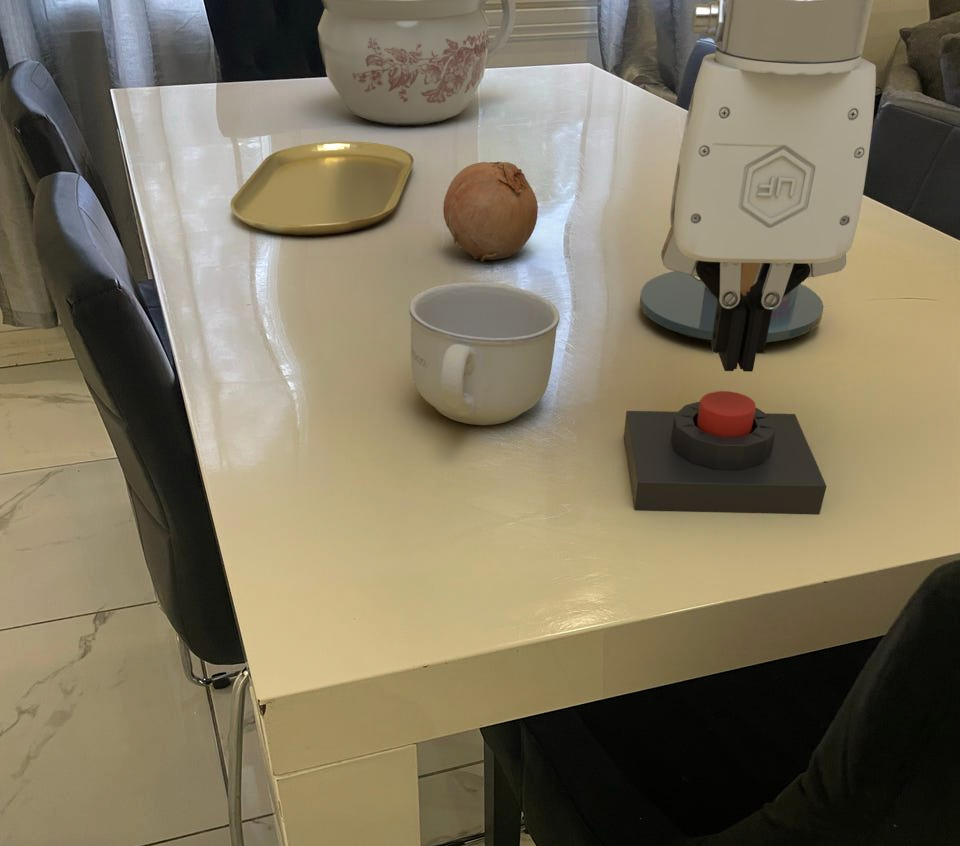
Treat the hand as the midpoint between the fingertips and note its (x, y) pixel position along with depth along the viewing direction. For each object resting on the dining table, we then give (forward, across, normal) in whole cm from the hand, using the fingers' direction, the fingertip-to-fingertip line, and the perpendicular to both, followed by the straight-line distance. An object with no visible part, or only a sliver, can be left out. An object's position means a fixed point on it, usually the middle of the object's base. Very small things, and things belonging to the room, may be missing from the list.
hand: (734, 361), depth 64 cm
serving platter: (+8, -37, +65) cm, 75 cm away
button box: (+8, 0, 0) cm, 8 cm away
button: (+5, 0, 0) cm, 5 cm away
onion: (+8, -17, +44) cm, 48 cm away
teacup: (+8, -17, +8) cm, 21 cm away
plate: (+7, +5, +28) cm, 29 cm away
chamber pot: (+8, -31, +105) cm, 110 cm away
